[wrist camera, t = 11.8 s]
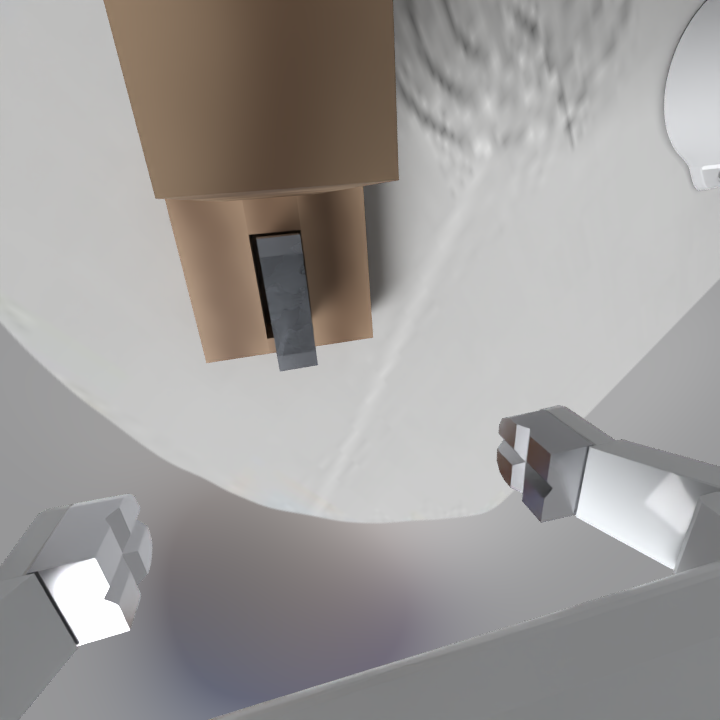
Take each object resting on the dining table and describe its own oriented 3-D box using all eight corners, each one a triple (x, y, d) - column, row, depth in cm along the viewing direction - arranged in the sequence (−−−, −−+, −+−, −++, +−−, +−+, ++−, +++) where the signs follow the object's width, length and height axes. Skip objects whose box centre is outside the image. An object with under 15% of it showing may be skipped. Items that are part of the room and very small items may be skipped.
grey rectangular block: (288, 225, 30) (300, 234, 21) (302, 321, 34) (317, 365, 25) (257, 228, 30) (256, 238, 21) (274, 325, 33) (279, 371, 24)
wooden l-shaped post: (343, 121, 30) (536, -72, 9) (358, 320, 36) (493, 481, 15) (162, 129, 27) (-155, -110, 6) (213, 341, 33) (136, 567, 13)
